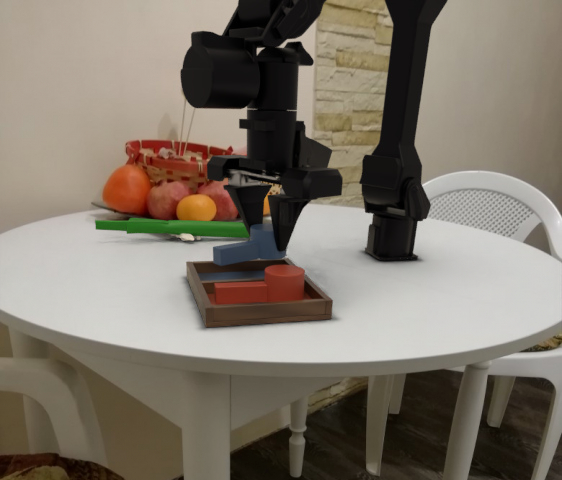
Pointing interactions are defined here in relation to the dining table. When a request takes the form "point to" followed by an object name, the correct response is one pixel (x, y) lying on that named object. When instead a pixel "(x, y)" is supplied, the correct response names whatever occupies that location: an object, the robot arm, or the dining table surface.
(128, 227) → the green stepped bar
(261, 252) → the blue cylinder with handle
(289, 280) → the red cylinder-ended block
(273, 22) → the robot arm
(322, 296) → the sorting tray
